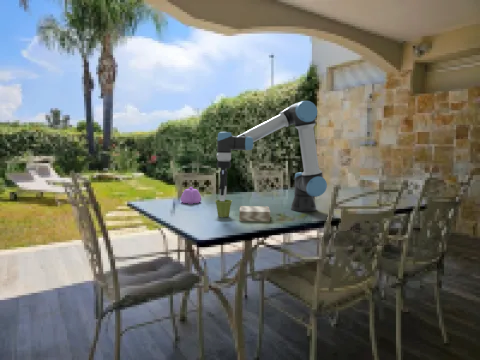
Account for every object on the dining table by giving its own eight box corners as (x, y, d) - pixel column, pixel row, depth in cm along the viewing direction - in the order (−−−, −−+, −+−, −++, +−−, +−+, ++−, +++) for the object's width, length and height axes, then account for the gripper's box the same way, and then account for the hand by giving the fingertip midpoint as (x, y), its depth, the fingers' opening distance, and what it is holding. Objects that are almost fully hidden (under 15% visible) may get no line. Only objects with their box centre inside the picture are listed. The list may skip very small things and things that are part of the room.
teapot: (200, 199, 257) (200, 185, 255) (202, 204, 237) (202, 188, 236) (180, 200, 254) (180, 185, 253) (181, 205, 234) (180, 188, 233)
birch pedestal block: (268, 215, 204) (268, 206, 203) (270, 221, 188) (270, 211, 187) (239, 214, 204) (240, 206, 204) (239, 220, 188) (239, 211, 188)
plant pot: (229, 218, 194) (230, 202, 193) (212, 217, 196) (213, 201, 195) (233, 215, 203) (233, 199, 202) (217, 214, 205) (217, 199, 204)
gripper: (218, 159, 209) (218, 195, 211) (215, 161, 184) (214, 202, 186) (231, 159, 209) (230, 196, 211) (229, 161, 184) (228, 203, 186)
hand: (223, 199), depth 198 cm, fingers open, 13 cm apart
